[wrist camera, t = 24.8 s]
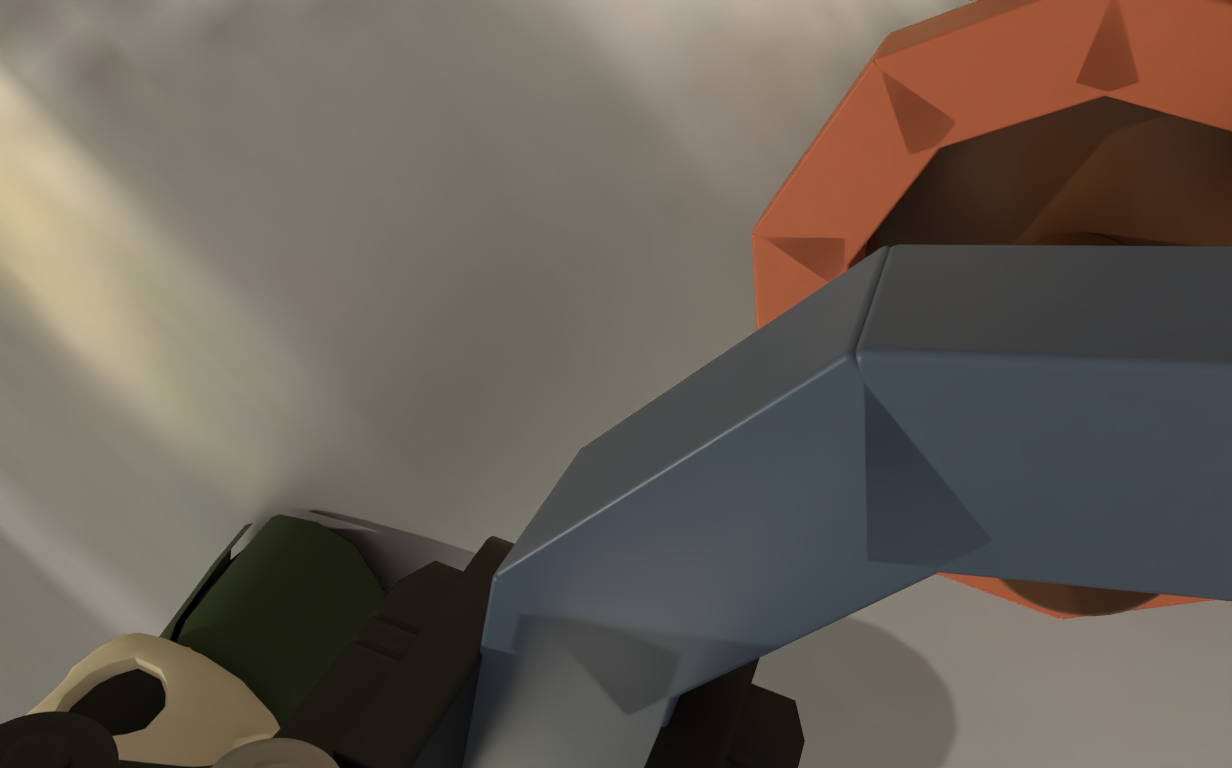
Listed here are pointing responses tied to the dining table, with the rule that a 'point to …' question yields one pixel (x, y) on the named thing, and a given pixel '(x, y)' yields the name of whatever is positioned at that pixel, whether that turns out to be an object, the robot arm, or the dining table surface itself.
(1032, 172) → the post
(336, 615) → the character mug
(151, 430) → the dining table surface
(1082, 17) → the terracotta ring
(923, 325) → the slate ring
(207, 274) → the dining table surface
